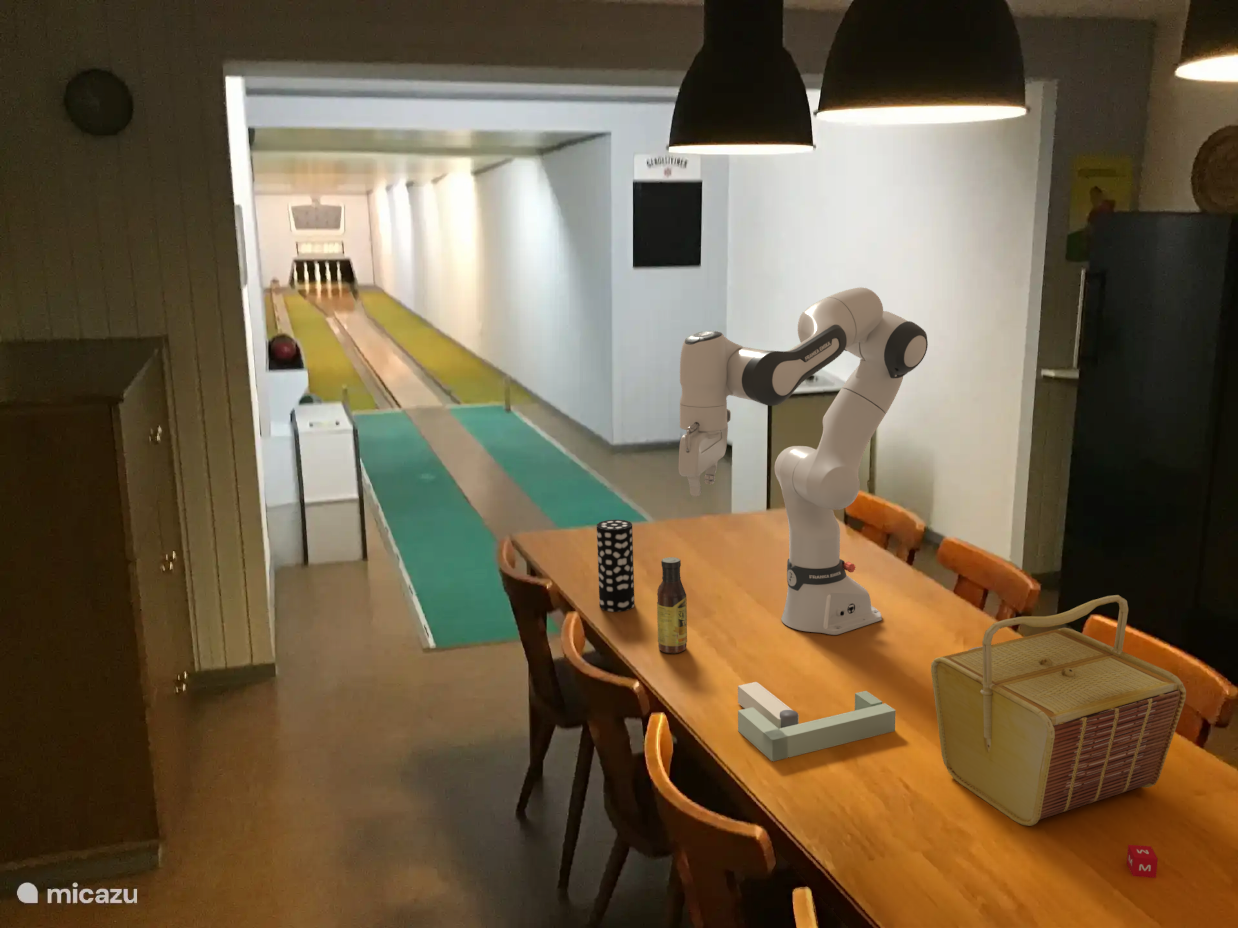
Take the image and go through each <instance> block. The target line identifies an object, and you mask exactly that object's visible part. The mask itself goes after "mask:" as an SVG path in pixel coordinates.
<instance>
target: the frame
mask: <svg viewBox="0 0 1238 928" xmlns="http://www.w3.org/2000/svg"><path fill="white" fill-rule="evenodd" d="M896 716H897V715H896V709H895V708H893V707H891V706H890V705H888V704H887V703H886V702H885V703H883V701H882V700H881V699H879V698H878V697H876V696H875V695H873V694H872V693H870V692H868V691H867V690H864V691H860V692H855V693H854V710H851V711H848V712H844V713H840V714H833V715H831V716H826V717H822V718H818V719H814V720H810V721H806V722H802V723H799V724H796V725H792V726H788V727H784V728H780V729H778V728H777V727H776V726H775V725H774V724H772V723H771V722H770V721H769V720H768V719H766V718H765V717H764V716H763V715H762V714H760V713H759V712H758V711H757V710H756V709H754V708H753V707H751V708H747V709H745V708H743V709H739V710H737V731H738V732H739V733H740V734H741V735H742V736H743V737H744V738H745V739H746V740H747V741H749V742H750V744H752V745H753V746H754V747H755V748H757V749H758V750H759V751H760V752H761V753H762V754H763V755H764V756H765V757H766V758H768V759H769V761H770V762H772V761H773V762H776V761H780V760H785V759H789V758H792V757H797V756H800V755H804V754H807V753H811V752H816V751H821V750H824V749H828V748H832V747H836V746H839V745H844V744H847V743H848V744H849V743H852V742H857V741H861V740H863V739H868V738H871V737H876V736H881V735H884V734H889V733H892V732H895V731H896ZM788 757H789V758H788Z"/></svg>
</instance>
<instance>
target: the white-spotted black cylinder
mask: <svg viewBox="0 0 1238 928" xmlns="http://www.w3.org/2000/svg"><path fill="white" fill-rule="evenodd" d="M633 541H634V539H633V523H632V522H631V521H629V520H624V519H607V520H602V521H600V522H598V523H596V544H597V547H596V548H597V568H598V569H597V570H598V572H597V573H598V575H597V576H598V595H599V596H598V597H599V599H598V600H599V608H600V609H601V610H604V611H607V612H613V613H614V612H616V613H618V612H625V611H628V610H631V609H633V608H635V577H634V576H635V574H634V572H635V571H634V542H633Z"/></svg>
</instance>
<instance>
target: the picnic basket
mask: <svg viewBox="0 0 1238 928" xmlns="http://www.w3.org/2000/svg"><path fill="white" fill-rule="evenodd" d="M1110 603H1117V604H1118V606H1119V611H1118V616H1117V617H1118V618H1117V622H1116V623H1117V624H1116V630H1115V639H1114V644H1113V646H1112V645H1110V644H1107V643H1105V642H1102V641H1101V640H1099V639H1098V640H1097V639H1095V638H1094V637H1091V636H1089V635H1086V634H1084V633H1082V632H1079V631H1076V630H1075V629H1073V628H1068V627H1062V628H1056V629H1052V630H1049V631H1044V632H1040V633H1037V634H1032V635H1027V636H1023V637H1019V638H1016V639H1011V640H1008V641H1003V642H998V643H995V644H992V640H993V637H994V635H995V634H996V633H997V632H998V631H999V630H1000V629H1003V628H1006V627H1012V626H1017V625H1025V626H1028V627H1032V628H1050V627H1056V626H1061V625H1064V624H1068V623H1071V622H1074V621H1076V620H1078V619H1080V618H1083V617H1084V616H1087V615H1088V614H1090V613H1091V612H1092V611H1093V610H1094V609H1096V608H1097V607H1099V606H1100V607H1101V606H1104V605H1106V604H1107V605H1108V604H1110ZM1128 614H1129V606H1128V601H1127V599H1125V598H1124V597H1122V596H1120V595H1119V594H1115V595H1106V596H1103V597H1100V598H1099V597H1098V598H1097V599H1092V600H1090V601H1087V602H1085V603H1083V604H1080V605H1077V606H1076V607H1074V608H1071V609H1070V610H1067V611H1064V612H1061V613H1057V614H1052V615H1046V616H1036V615H1035V616H1017V617H1012V618H1007V619H1002V620H1000V621H997V622H993V623H992V624H991V625H989V627H988V628H987V629H986V630H985V631H984V633H983V638H982V642H981V643H982V645H981V646H980V647H981V648H977V649H972V650H969V649H968V650H965V651H962V652H957V653H952V654H949V655H943V656H939V657H935V658H934V659H933V660H932V662H931V665H930V673H931V679H932V680H931V681H932V689H933V697H934V704H935V705H934V706H935V712H936V720H937V727H938V728H937V729H938V734H939V735H938V736H939V744H940V751H941V756H942V757H941V758H942V760H943V761H942V762H943V764H944V766H945V768H946V770H947V772H948V773H949V775H951V776H952V778H953V779H954V780H955V781H956V782H957V783H959V784H960V785H961V786H962V787H965V789H967V790H968V791H970V792H972V793H973V794H974V795H976V796H978V797H979V798H980V799H982V800H983V801H984V802H986V803H988V804H989V805H991V806H992V807H994V808H995V809H996V810H998V812H1000V813H1002V814H1004V815H1005V816H1006V817H1007V818H1009V819H1011V820H1013V821H1014V822H1016V823H1018V824H1019V825H1021V826H1029V827H1033V826H1034V825H1037V823H1038V822H1039V821H1040V820H1043V819H1046V818H1048V817H1052V816H1055V815H1058V814H1061V813H1064V812H1068V811H1071V810H1074V809H1077V808H1079V807H1080V808H1081V807H1083V806H1086V805H1088V804H1092V803H1096V802H1097V801H1102V800H1104V799H1107V798H1110V797H1111V798H1112V797H1113V796H1117V795H1119V794H1123V793H1126V792H1129V791H1132V790H1134V789H1135V790H1136V789H1138V788H1150V787H1153V786H1154V785H1156V783H1157V782H1158V781H1159V779H1160V777H1161V773H1162V770H1163V768H1164V765H1165V762H1166V760H1167V757H1168V756H1167V755H1168V753H1169V750H1170V747H1171V745H1172V741H1173V737H1174V735H1175V732H1176V729H1177V725H1178V722H1179V721H1180V717H1181V713H1182V711H1183V708H1184V705H1185V702H1186V697H1187V690H1186V688H1185V686H1184V685H1185V684H1184V683H1183V681H1181V679H1180V678H1179V676H1177V675H1175V674H1173V673H1172V672H1171V671H1168V670H1166V669H1164V668H1162V667H1159V666H1158V665H1155V664H1153V663H1151V662H1148V661H1146V660H1143V659H1141V658H1138V657H1137V656H1134V655H1132V654H1129V653H1128V652H1125V651H1123V649H1124V642H1125V641H1124V640H1125V636H1126V629H1127V621H1128Z"/></svg>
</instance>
